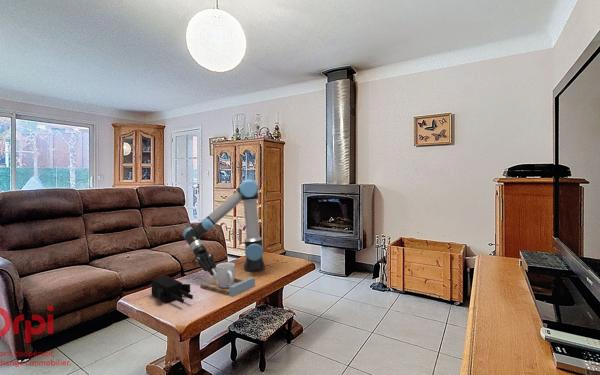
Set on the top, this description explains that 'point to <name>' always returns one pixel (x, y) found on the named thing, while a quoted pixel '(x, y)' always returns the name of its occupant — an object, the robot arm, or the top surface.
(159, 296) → the black power adapter
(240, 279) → the channel
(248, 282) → the stop
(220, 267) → the mug
